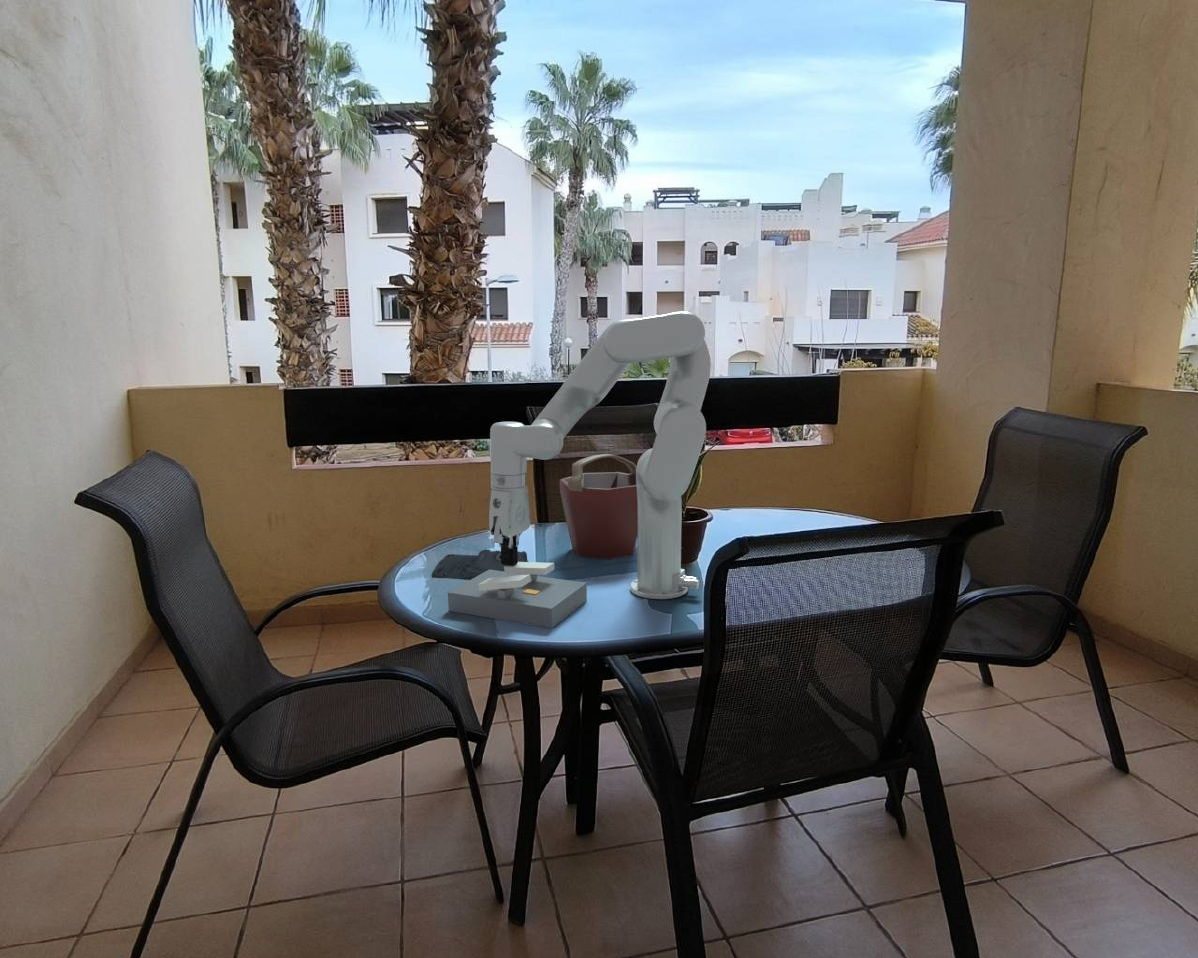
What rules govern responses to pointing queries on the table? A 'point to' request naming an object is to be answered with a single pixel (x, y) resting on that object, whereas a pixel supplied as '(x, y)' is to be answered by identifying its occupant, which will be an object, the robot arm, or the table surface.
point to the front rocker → (504, 582)
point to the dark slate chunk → (471, 564)
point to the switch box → (520, 599)
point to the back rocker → (530, 568)
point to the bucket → (601, 510)
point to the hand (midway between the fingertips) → (509, 563)
